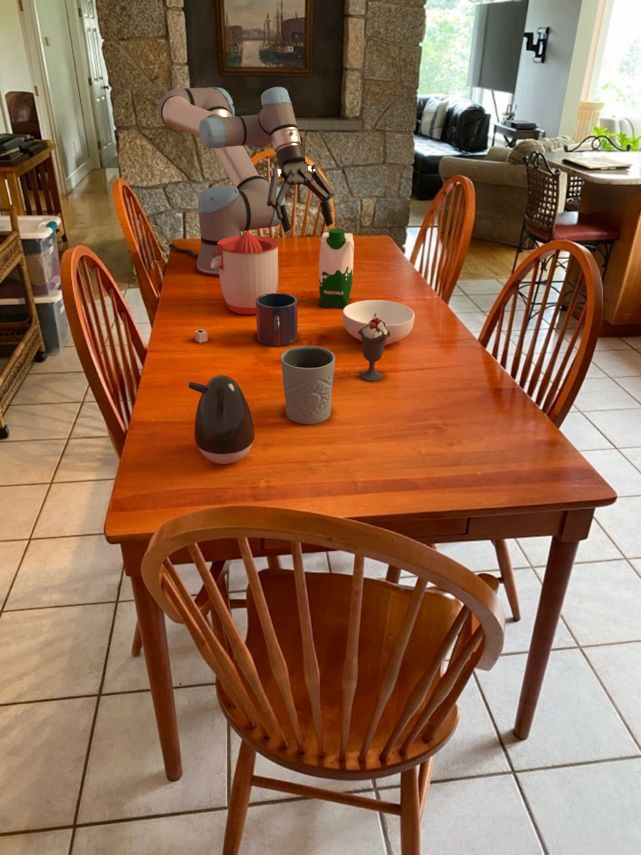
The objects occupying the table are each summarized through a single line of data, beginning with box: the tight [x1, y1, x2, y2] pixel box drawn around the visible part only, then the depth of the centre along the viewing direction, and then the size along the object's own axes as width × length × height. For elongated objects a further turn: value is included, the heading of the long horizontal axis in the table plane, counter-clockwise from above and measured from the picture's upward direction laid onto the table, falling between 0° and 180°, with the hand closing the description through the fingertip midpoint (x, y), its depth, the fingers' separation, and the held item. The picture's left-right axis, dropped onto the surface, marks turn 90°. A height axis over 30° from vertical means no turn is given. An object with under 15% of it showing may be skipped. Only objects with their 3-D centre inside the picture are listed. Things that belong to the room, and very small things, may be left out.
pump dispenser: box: [187, 374, 256, 465], centre depth 111 cm, size 10×10×15 cm
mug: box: [255, 292, 298, 347], centre depth 155 cm, size 13×10×10 cm
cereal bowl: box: [342, 299, 416, 346], centre depth 157 cm, size 17×17×7 cm
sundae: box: [358, 313, 390, 382], centre depth 138 cm, size 7×7×15 cm
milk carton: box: [318, 228, 355, 309], centre depth 174 cm, size 9×9×20 cm
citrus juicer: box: [211, 230, 280, 315], centre depth 170 cm, size 16×17×20 cm
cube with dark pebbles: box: [194, 328, 209, 344], centre depth 156 cm, size 2×2×2 cm
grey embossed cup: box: [280, 345, 336, 425], centre depth 125 cm, size 10×10×12 cm
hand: (309, 227), depth 180 cm, fingers open, 13 cm apart
